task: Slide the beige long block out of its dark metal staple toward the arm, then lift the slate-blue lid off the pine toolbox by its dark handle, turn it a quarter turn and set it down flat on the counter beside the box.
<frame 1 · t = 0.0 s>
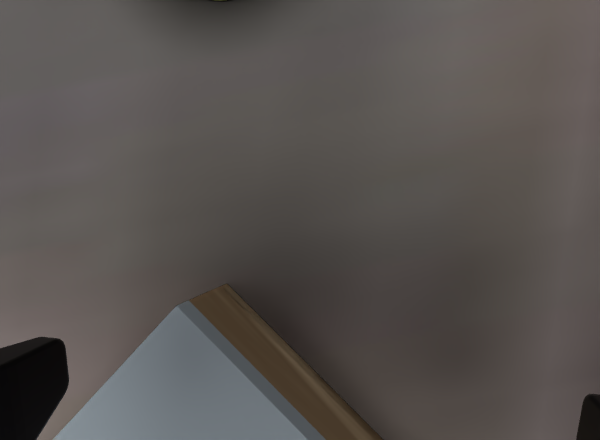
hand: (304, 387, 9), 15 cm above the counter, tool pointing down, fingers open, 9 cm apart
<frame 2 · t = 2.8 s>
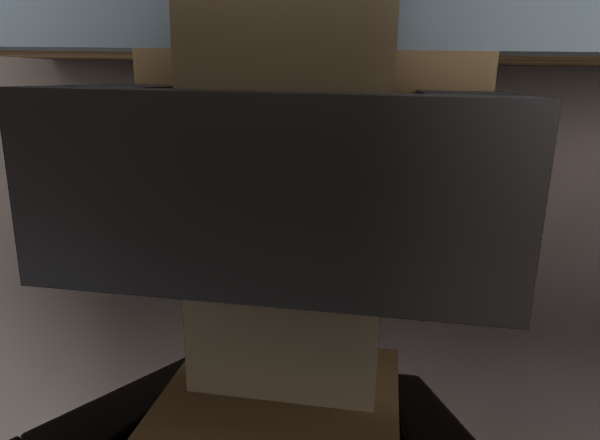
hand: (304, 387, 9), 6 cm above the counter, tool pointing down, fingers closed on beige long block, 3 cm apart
beige long block: (282, 144, 6), point 8 cm above the counter, slide at 0.0 cm, touching gripper
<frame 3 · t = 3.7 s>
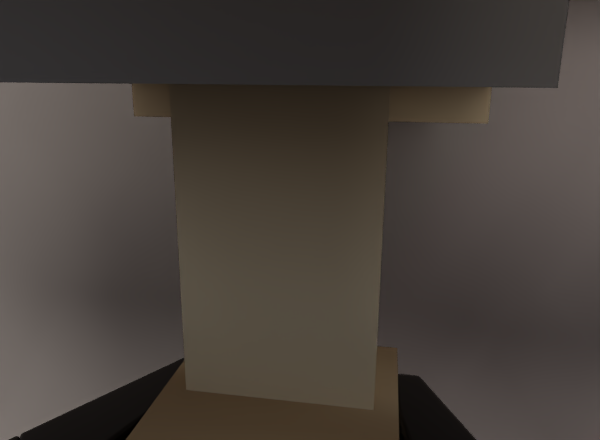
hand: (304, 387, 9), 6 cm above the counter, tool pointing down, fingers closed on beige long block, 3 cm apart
beige long block: (279, 141, 6), point 8 cm above the counter, slide at 2.0 cm, touching gripper
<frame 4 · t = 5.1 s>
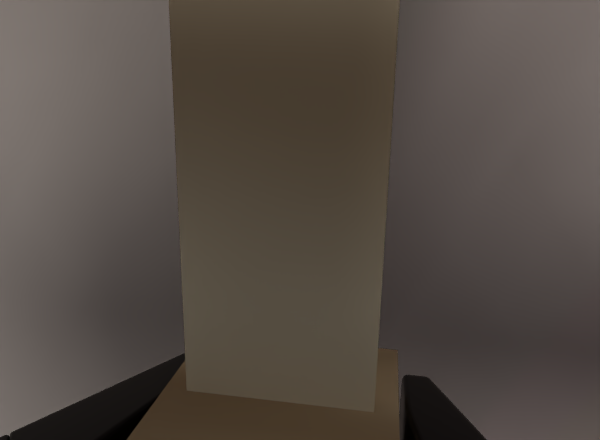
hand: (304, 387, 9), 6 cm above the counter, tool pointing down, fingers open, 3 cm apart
beige long block: (282, 143, 6), point 8 cm above the counter, slide at 7.5 cm
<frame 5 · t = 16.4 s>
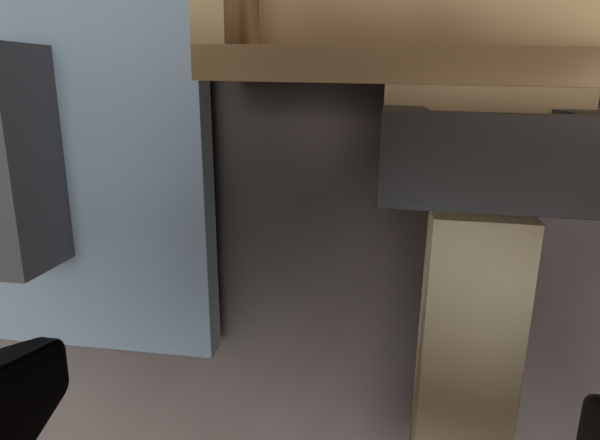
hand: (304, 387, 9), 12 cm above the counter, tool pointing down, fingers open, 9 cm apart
lid: (73, 148, 22), on the counter
beige long block: (463, 430, 13), point 8 cm above the counter, slide at 7.5 cm
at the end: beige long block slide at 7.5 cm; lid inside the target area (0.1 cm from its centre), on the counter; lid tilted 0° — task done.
